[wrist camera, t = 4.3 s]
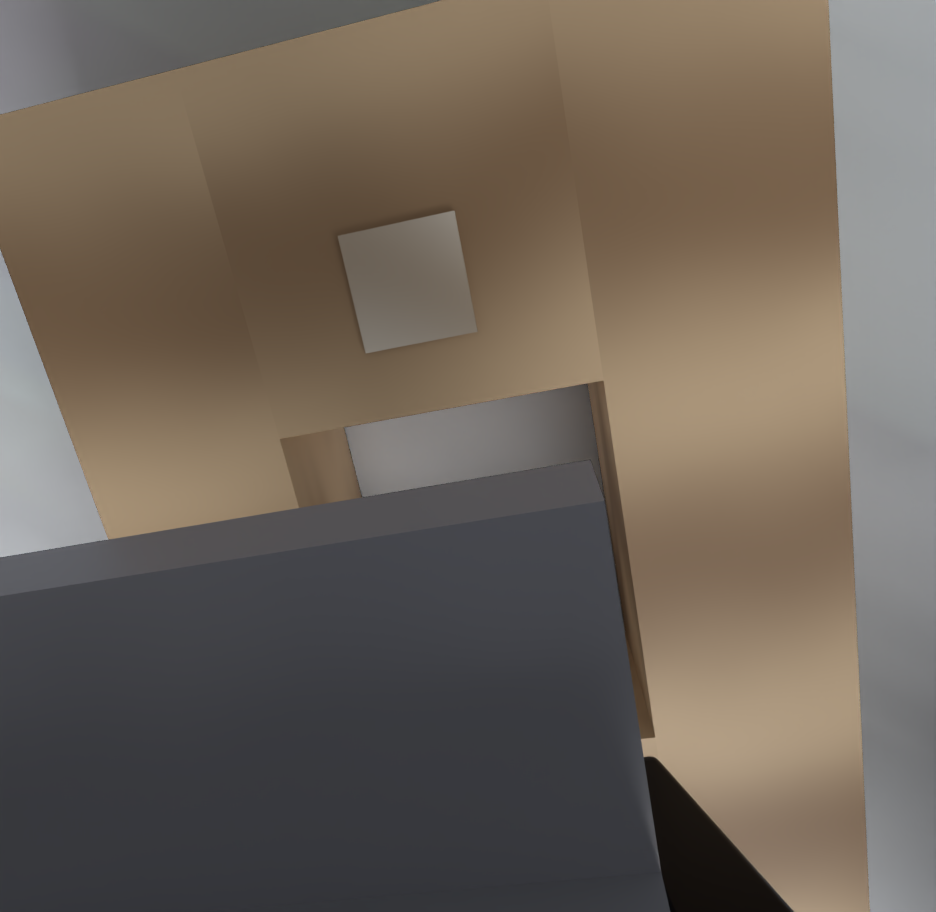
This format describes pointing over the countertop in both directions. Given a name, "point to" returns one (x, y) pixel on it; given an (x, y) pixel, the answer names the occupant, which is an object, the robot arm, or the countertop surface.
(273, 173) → the chassis board
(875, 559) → the countertop surface
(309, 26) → the countertop surface
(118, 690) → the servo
